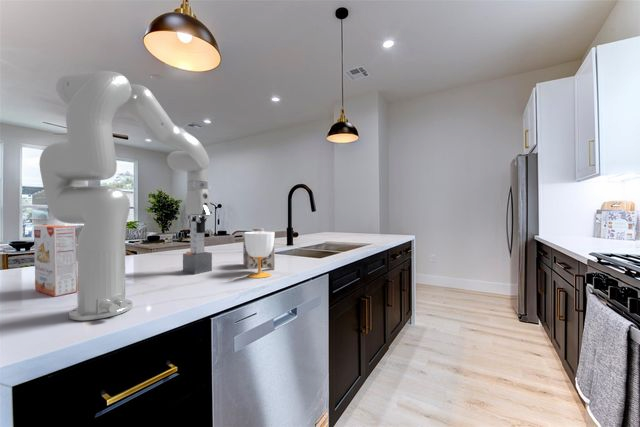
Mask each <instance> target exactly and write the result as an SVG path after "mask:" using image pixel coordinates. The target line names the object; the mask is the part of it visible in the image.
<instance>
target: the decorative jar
mask: <svg viewBox="0 0 640 427" xmlns="http://www.w3.org/2000/svg"><path fill="white" fill-rule="evenodd" d="M258 231H265V229H264V227H253V230H252V232H258ZM275 242H276V241H275V239H274V246H273V249H272V252H271V253H270V255H269V256H267V257H265V258H263V259H262V260H261V272H263V271H274V270H275V264H276V263H275V262H276V258H275V257H276V254H275V252H276V251H275V247H276V246H275V244H276V243H275ZM242 244H243V253H242V256H243V260H242V261H243V265H244V266H245V267H246V268H247V269H248V270H252V269H253V270H254V269H258V260H257V259H255V258H253V257H251V256H250V255H249V254H248V252H247V251H246V247H245V239H244V238H243V243H242ZM263 268H265V269H263Z"/></svg>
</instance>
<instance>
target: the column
mask: <svg viewBox="0 0 640 427" xmlns="http://www.w3.org/2000/svg"><path fill="white" fill-rule="evenodd" d="M197 223H198V220H197V221H192V222H191V228H190V227H189V231H190V230H191V232H190V234H189V237H190V240H189V244H190V247H189V250H190V252H192V254H193V255H198V254H204V252H205V233H197Z"/></svg>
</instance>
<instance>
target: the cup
mask: <svg viewBox="0 0 640 427" xmlns="http://www.w3.org/2000/svg"><path fill="white" fill-rule="evenodd" d="M275 234H276V233H275V231H267V230H266V231H265V230H264V231H258V232H253V231H246V232H244V235H243V240H244V239H245V247H246V251H247V252H248V254H249V255H250V256H251V257H253V258H255V259H257V260H258V268H257V272H252V273H249V274H248V275H247V277H248V278H251V279H263V278H264V279H266V278H269V277H271V276H272V274H271V273H270V272H263V271H261V270H262V268H261V260H262V259H263V258H265V257H267V256H269V255H270V253H271V252H272V249H273V246H274V240H275Z"/></svg>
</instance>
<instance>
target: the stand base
mask: <svg viewBox="0 0 640 427" xmlns="http://www.w3.org/2000/svg"><path fill="white" fill-rule="evenodd" d="M209 272H213V253H212V252H207V251H204V254H198V255H193V254H192V252H191V251H186V252H184V253H182V273H185V274H190V275H200V274H204V273H209Z"/></svg>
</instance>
